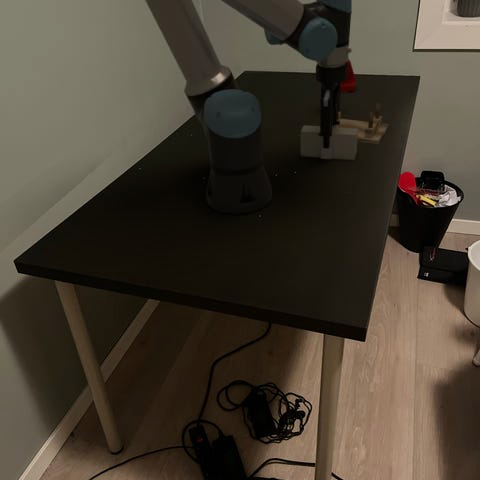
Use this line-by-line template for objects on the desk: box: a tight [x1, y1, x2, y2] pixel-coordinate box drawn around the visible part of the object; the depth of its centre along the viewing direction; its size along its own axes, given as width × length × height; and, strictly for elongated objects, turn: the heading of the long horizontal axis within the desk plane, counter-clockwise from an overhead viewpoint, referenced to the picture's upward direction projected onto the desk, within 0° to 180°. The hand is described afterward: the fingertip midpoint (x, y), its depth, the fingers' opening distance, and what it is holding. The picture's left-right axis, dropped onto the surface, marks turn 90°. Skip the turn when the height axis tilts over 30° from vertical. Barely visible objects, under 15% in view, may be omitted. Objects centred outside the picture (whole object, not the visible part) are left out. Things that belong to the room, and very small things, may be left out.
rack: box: [335, 102, 390, 145], centre depth 135 cm, size 12×18×8 cm, turn 63°
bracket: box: [341, 58, 357, 94], centre depth 163 cm, size 9×6×10 cm
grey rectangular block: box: [300, 125, 358, 161], centre depth 124 cm, size 4×14×7 cm, turn 71°
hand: (328, 153), depth 126 cm, fingers open, 5 cm apart
